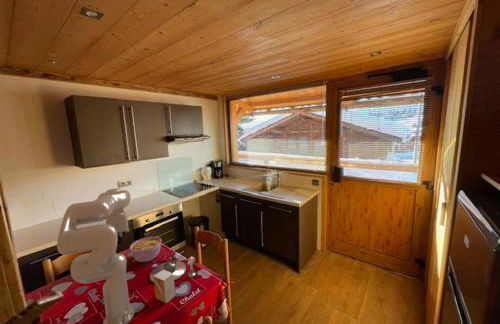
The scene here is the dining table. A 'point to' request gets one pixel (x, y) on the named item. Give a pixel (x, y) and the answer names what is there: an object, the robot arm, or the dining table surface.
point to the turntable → (177, 274)
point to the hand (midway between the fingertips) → (119, 243)
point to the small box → (164, 286)
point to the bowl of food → (146, 248)
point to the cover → (170, 266)
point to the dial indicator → (191, 266)
